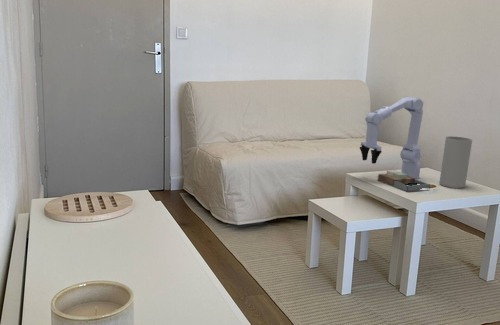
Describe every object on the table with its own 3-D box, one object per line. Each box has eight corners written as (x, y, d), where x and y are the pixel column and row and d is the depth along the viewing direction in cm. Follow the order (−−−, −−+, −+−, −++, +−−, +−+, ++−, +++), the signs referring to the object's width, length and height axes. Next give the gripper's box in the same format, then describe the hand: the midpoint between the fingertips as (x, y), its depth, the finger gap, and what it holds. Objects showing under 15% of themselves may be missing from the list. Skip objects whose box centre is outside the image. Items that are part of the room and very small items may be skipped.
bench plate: (398, 179, 257) (399, 172, 256) (414, 184, 246) (415, 178, 245) (377, 180, 251) (378, 174, 250) (393, 186, 240) (393, 179, 240)
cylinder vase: (467, 185, 251) (474, 138, 245) (462, 190, 240) (469, 141, 235) (442, 181, 257) (448, 135, 252) (436, 185, 247) (443, 138, 242)
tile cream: (394, 173, 253) (394, 170, 253) (399, 175, 249) (400, 172, 249) (386, 174, 251) (386, 170, 251) (392, 176, 247) (392, 172, 247)
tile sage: (400, 176, 249) (401, 172, 248) (406, 178, 245) (407, 174, 244) (393, 176, 247) (393, 172, 246) (398, 178, 243) (399, 174, 242)
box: (414, 185, 246) (415, 179, 245) (429, 190, 237) (430, 184, 236) (393, 186, 240) (394, 181, 239) (407, 192, 231) (408, 186, 230)
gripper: (357, 133, 250) (354, 159, 253) (374, 138, 238) (371, 165, 240) (367, 133, 253) (365, 158, 256) (385, 138, 240) (382, 164, 243)
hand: (369, 161), depth 249 cm, fingers open, 7 cm apart
